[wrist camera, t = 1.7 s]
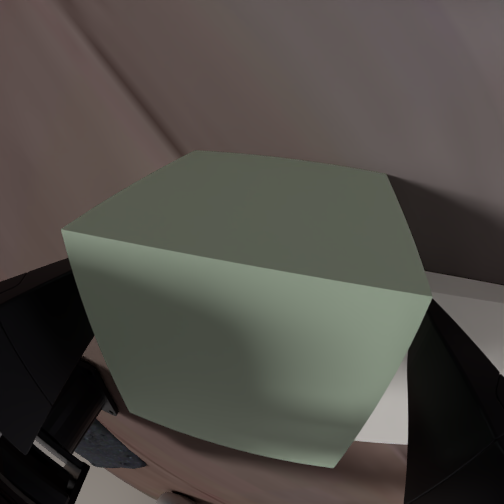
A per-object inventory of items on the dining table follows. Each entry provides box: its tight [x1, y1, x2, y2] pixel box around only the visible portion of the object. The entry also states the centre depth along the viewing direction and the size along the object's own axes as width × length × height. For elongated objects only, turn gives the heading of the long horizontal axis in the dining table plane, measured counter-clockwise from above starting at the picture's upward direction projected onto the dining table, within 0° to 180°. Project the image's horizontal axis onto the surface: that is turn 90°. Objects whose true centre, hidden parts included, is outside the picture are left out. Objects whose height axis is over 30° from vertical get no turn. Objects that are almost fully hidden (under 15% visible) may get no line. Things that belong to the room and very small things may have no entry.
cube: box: [61, 150, 433, 468], centre depth 8 cm, size 6×6×6 cm
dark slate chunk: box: [75, 419, 146, 469], centre depth 28 cm, size 15×22×5 cm
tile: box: [355, 271, 504, 444], centre depth 11 cm, size 10×10×1 cm
